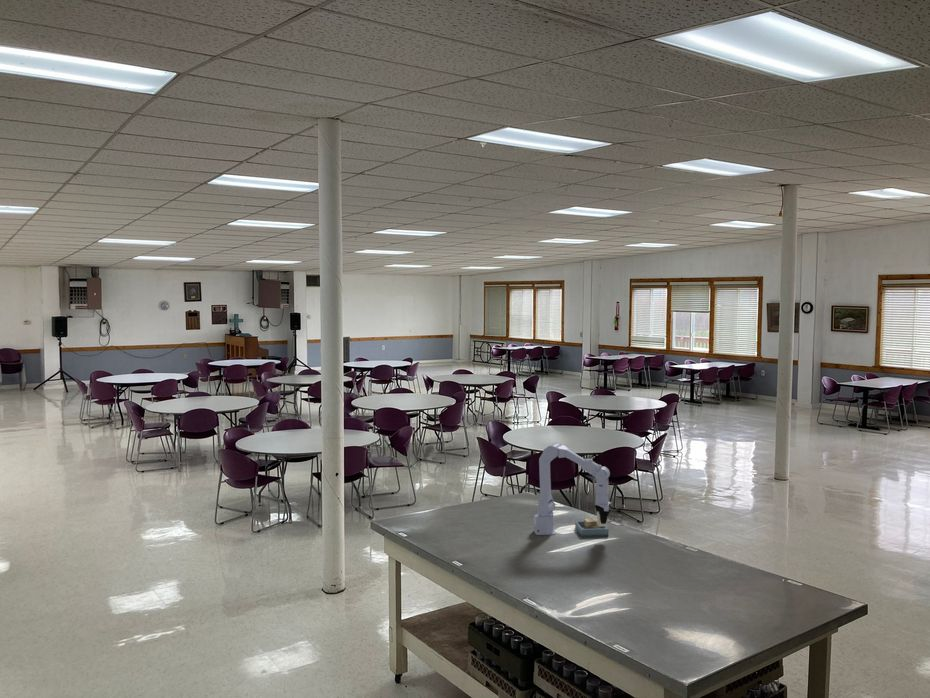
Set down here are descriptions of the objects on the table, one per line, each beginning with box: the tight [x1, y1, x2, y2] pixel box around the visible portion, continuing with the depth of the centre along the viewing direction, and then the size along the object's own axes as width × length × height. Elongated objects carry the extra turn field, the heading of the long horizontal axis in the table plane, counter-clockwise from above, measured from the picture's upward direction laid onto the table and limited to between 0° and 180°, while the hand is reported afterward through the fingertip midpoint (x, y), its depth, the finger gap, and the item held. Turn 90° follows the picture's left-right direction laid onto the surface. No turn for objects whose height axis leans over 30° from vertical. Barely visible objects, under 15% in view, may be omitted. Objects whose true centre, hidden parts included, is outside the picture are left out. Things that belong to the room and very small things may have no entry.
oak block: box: [583, 517, 599, 529], centre depth 329 cm, size 6×5×5 cm
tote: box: [574, 520, 609, 538], centre depth 329 cm, size 13×13×4 cm
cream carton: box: [596, 511, 609, 527], centre depth 317 cm, size 4×4×6 cm
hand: (602, 522), depth 317 cm, fingers closed on cream carton, 4 cm apart
